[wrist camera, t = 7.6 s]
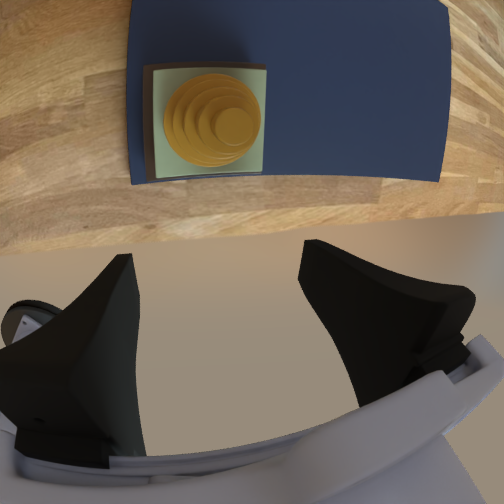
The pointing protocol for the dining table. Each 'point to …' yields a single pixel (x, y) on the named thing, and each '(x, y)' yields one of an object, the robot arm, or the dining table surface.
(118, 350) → the robot arm
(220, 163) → the cone
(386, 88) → the board
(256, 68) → the block stack
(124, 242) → the dining table surface
